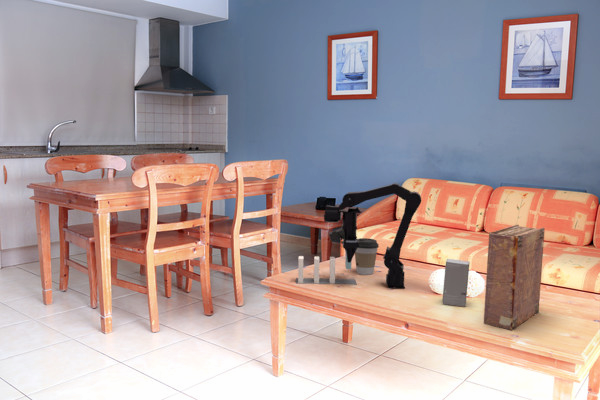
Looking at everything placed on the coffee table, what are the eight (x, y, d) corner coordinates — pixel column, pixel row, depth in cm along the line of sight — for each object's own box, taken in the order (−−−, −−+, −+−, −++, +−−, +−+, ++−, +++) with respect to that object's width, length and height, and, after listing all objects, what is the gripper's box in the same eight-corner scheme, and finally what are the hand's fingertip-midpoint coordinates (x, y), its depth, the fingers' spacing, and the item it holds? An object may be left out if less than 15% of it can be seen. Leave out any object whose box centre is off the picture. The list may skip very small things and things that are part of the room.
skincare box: (442, 304, 190) (444, 261, 189) (443, 299, 197) (445, 257, 195) (466, 307, 187) (468, 264, 186) (467, 301, 194) (469, 259, 192)
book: (512, 306, 190) (517, 224, 186) (539, 312, 184) (545, 227, 180) (483, 323, 171) (488, 232, 168) (512, 331, 165) (518, 236, 161)
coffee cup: (349, 270, 238) (350, 237, 236) (374, 270, 239) (375, 237, 238) (355, 277, 227) (356, 242, 225) (380, 276, 228) (382, 242, 226)
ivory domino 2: (334, 280, 220) (334, 256, 218) (334, 283, 215) (335, 259, 213) (329, 280, 220) (329, 256, 218) (329, 283, 215) (330, 259, 213)
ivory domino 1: (318, 279, 220) (319, 256, 218) (318, 283, 215) (319, 259, 213) (313, 279, 220) (314, 256, 218) (314, 283, 215) (314, 259, 213)
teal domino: (350, 266, 219) (350, 242, 218) (351, 269, 214) (351, 245, 213) (345, 266, 219) (345, 242, 218) (346, 269, 214) (347, 245, 213)
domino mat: (355, 279, 222) (355, 279, 222) (357, 285, 214) (357, 284, 214) (295, 278, 222) (295, 277, 222) (295, 284, 214) (295, 283, 214)
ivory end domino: (303, 279, 220) (303, 256, 218) (303, 282, 215) (303, 258, 213) (298, 279, 220) (298, 256, 218) (298, 282, 215) (298, 258, 213)
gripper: (328, 219, 224) (327, 255, 225) (331, 226, 205) (330, 265, 207) (354, 219, 224) (353, 255, 225) (359, 227, 205) (358, 266, 207)
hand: (348, 260), depth 216 cm, fingers closed on teal domino, 5 cm apart
